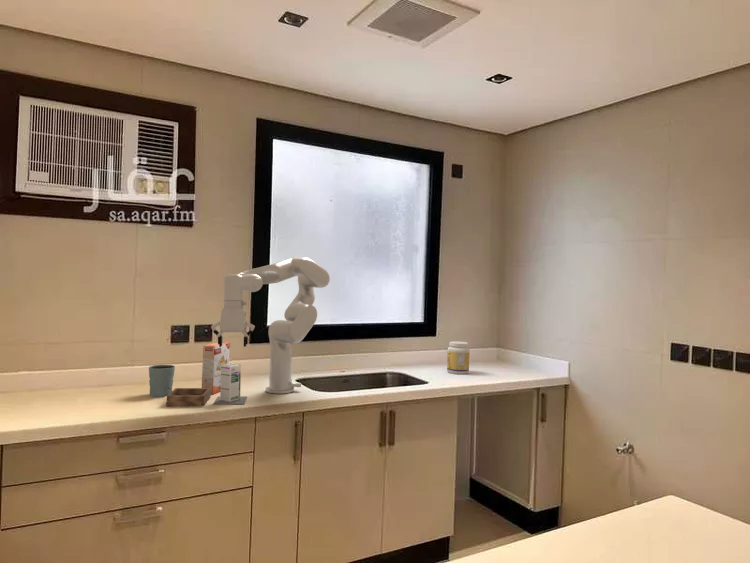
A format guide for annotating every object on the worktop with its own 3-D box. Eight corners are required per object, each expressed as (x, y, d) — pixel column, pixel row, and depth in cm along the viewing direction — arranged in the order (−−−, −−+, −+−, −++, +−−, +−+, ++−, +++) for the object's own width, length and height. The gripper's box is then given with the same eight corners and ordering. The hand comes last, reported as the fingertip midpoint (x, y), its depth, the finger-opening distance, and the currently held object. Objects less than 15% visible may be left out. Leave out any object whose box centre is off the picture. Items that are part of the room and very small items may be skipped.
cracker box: (213, 395, 221) (214, 346, 221) (200, 394, 222) (202, 345, 222) (229, 388, 235) (230, 342, 234) (217, 387, 236) (218, 341, 236)
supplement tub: (444, 370, 295) (445, 340, 295) (465, 370, 297) (466, 341, 296) (449, 374, 283) (450, 343, 283) (471, 374, 284) (472, 344, 284)
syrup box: (229, 402, 208) (230, 366, 208) (219, 400, 211) (220, 364, 211) (240, 399, 213) (241, 364, 213) (230, 397, 216) (231, 362, 216)
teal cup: (142, 396, 216) (143, 367, 215) (160, 391, 225) (161, 363, 225) (162, 398, 212) (162, 369, 212) (179, 393, 222) (180, 365, 221)
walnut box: (210, 397, 216) (210, 388, 216) (203, 406, 202) (204, 396, 202) (175, 397, 214) (175, 388, 214) (166, 406, 200) (166, 396, 200)
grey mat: (247, 397, 219) (247, 396, 219) (244, 404, 207) (244, 403, 207) (218, 397, 217) (218, 396, 217) (213, 404, 205) (213, 403, 205)
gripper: (255, 304, 216) (255, 344, 217) (213, 303, 214) (212, 344, 214) (254, 305, 209) (253, 347, 209) (209, 304, 206) (209, 347, 207)
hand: (232, 346), depth 212 cm, fingers open, 9 cm apart
